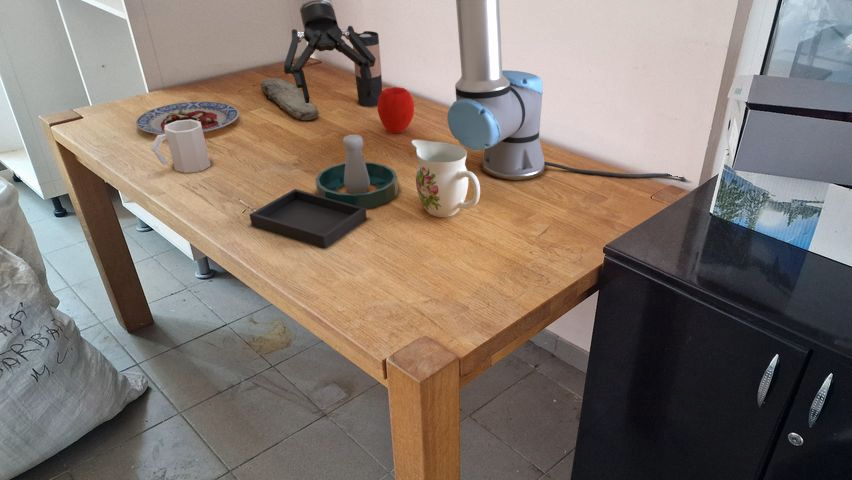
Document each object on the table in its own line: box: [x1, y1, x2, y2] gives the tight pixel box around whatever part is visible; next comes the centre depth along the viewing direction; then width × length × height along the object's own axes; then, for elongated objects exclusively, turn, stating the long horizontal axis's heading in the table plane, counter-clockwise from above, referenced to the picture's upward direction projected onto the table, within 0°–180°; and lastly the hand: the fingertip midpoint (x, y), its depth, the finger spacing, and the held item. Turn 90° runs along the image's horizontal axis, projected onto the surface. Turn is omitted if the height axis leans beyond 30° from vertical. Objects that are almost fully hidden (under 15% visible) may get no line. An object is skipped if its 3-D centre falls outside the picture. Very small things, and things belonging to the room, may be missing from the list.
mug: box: [150, 120, 211, 174], centre depth 152 cm, size 12×9×10 cm
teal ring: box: [315, 161, 399, 210], centre depth 146 cm, size 18×18×4 cm
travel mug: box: [352, 30, 383, 108], centre depth 192 cm, size 8×8×20 cm
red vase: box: [376, 86, 415, 134], centre depth 175 cm, size 10×10×12 cm
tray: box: [249, 188, 368, 249], centre depth 134 cm, size 19×14×3 cm
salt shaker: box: [342, 134, 371, 194], centre depth 143 cm, size 6×6×13 cm
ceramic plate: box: [135, 100, 240, 135], centre depth 177 cm, size 26×26×3 cm
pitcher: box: [411, 138, 481, 218], centre depth 137 cm, size 11×18×14 cm, turn 53°
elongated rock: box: [260, 77, 319, 121], centre depth 193 cm, size 35×5×10 cm
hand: (338, 97), depth 145 cm, fingers open, 13 cm apart
